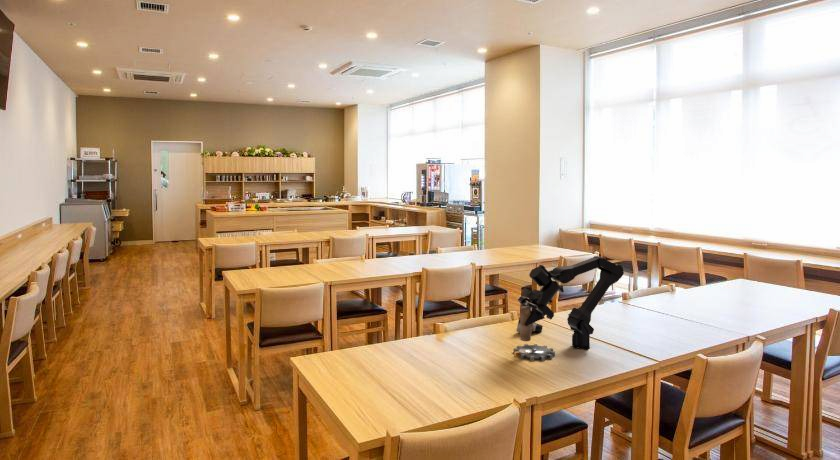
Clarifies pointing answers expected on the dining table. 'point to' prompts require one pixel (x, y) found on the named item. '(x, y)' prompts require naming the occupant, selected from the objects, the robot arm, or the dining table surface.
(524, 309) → the brown cylinder
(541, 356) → the sprocket plate
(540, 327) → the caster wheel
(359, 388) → the dining table surface
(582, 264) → the robot arm
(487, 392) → the dining table surface
